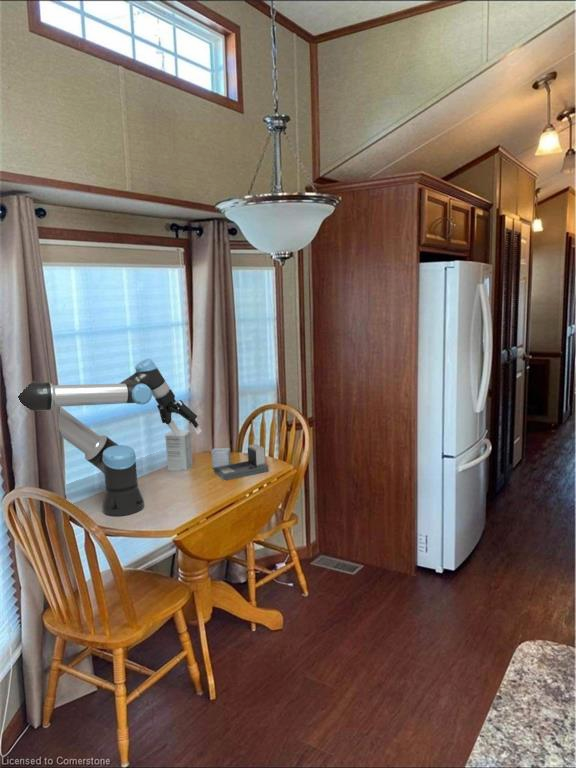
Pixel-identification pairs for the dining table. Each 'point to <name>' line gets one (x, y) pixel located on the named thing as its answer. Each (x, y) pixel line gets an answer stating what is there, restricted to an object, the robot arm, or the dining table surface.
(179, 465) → the supplement box
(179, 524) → the dining table surface
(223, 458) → the medicine box
